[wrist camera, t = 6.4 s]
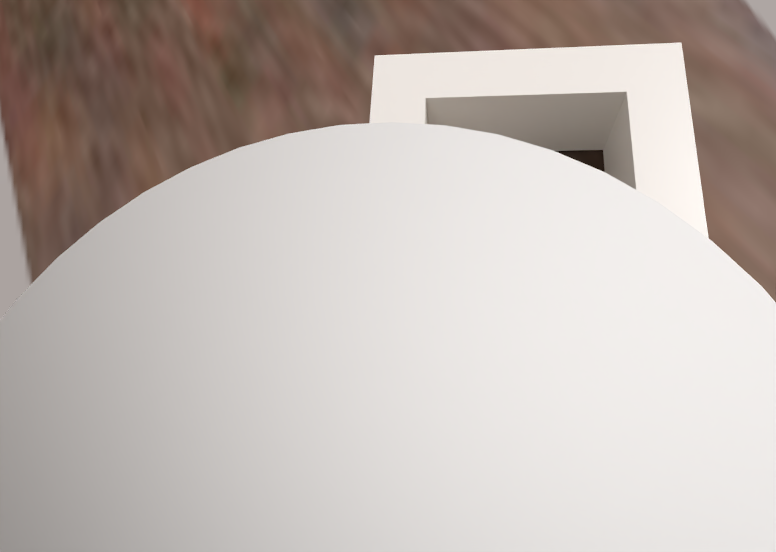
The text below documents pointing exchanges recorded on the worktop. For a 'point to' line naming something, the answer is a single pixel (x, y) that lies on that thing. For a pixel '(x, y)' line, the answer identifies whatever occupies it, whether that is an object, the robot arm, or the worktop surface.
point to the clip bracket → (562, 107)
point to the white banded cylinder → (390, 362)
